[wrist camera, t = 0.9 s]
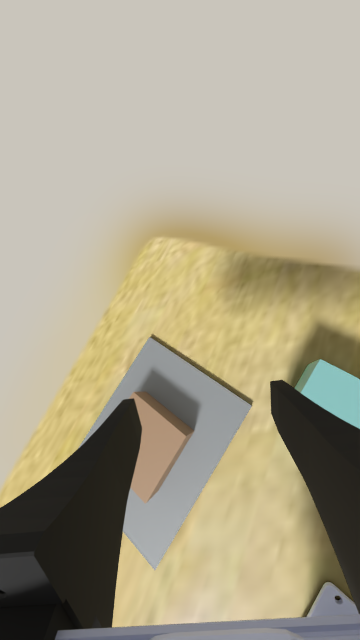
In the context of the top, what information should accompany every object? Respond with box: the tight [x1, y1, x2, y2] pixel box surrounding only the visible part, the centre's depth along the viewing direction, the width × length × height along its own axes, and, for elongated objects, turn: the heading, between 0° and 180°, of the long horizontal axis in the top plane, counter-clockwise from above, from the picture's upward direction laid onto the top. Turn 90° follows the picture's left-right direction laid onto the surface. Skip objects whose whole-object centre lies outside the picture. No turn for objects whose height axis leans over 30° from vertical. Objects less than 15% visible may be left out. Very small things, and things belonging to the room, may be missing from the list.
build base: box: [78, 337, 252, 570], centre depth 24 cm, size 14×18×4 cm
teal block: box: [294, 359, 360, 429], centre depth 20 cm, size 5×5×5 cm
